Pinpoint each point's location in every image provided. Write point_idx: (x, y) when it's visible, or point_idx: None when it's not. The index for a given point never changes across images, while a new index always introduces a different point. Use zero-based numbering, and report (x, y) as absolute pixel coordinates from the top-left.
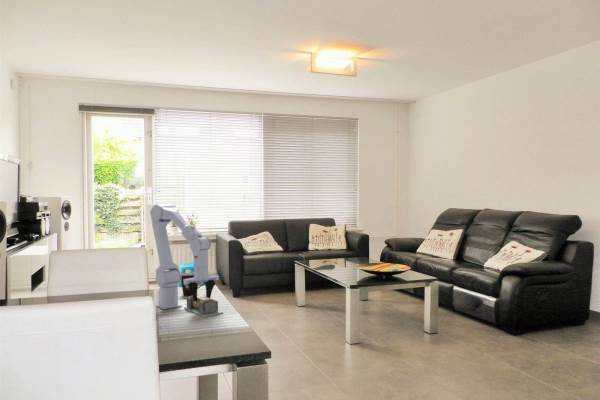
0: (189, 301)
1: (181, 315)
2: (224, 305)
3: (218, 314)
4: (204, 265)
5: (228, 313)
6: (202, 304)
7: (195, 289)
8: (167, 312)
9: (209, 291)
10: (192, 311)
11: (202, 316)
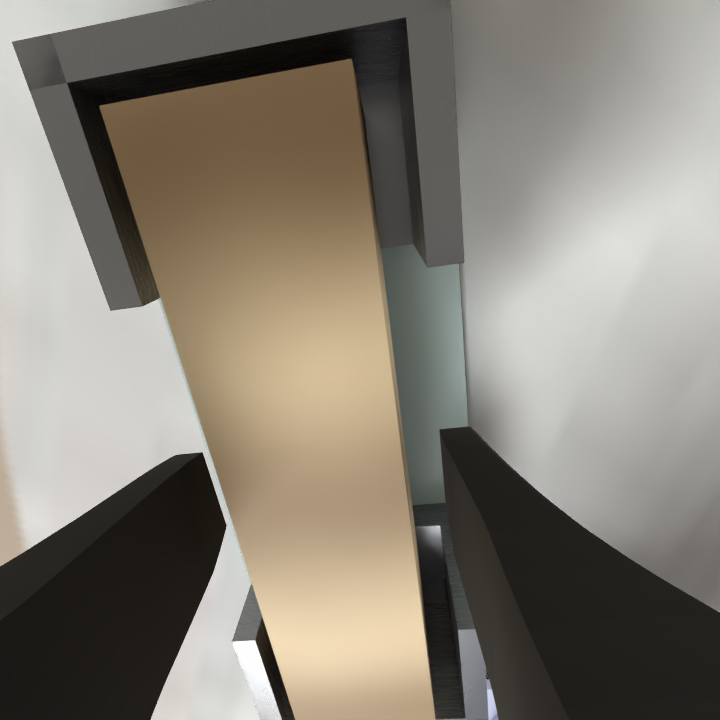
0: None
1: (648, 328)
2: (47, 514)
3: None
4: None
5: (12, 28)
6: (446, 33)
7: (633, 632)
8: (693, 555)
9: (77, 554)
10: (466, 410)
11: None
